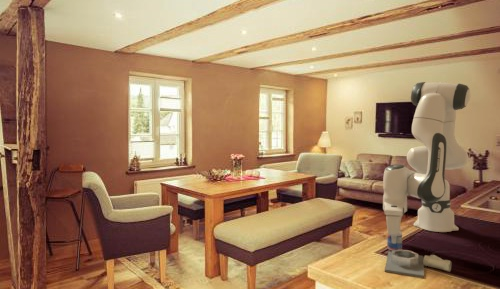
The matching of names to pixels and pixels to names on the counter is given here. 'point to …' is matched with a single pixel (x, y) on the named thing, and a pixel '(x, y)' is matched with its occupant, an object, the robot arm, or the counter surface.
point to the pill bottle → (394, 245)
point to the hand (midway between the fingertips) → (394, 239)
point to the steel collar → (404, 258)
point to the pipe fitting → (437, 263)
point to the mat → (412, 271)
